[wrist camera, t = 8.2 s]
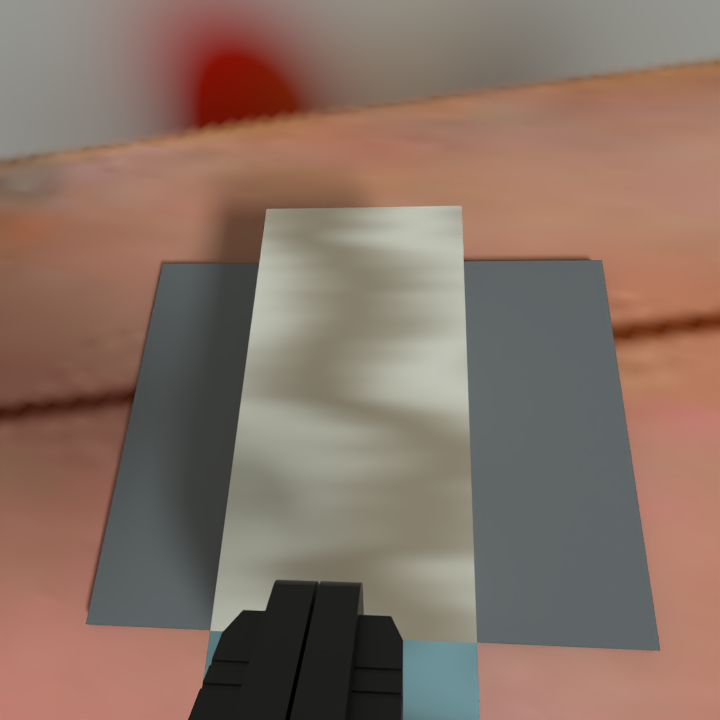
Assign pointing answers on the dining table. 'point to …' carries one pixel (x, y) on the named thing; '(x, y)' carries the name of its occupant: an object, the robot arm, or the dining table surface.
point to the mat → (487, 451)
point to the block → (361, 436)
